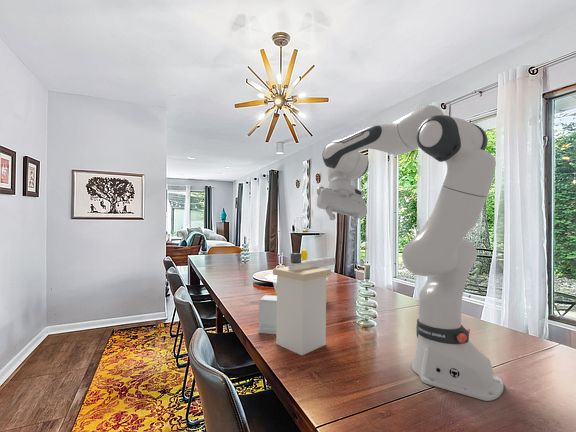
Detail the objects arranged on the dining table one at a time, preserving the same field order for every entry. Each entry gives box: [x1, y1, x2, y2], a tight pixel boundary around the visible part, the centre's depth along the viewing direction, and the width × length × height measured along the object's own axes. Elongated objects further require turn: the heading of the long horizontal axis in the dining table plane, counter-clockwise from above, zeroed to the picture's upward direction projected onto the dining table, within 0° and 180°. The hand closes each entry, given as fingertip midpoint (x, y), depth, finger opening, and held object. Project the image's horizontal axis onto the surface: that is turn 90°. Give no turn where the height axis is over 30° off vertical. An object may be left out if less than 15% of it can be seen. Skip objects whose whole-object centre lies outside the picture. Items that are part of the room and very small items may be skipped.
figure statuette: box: [301, 249, 308, 261], centre depth 200 cm, size 18×8×22 cm, turn 26°
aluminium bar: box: [288, 252, 336, 271], centre depth 112 cm, size 4×22×6 cm, turn 135°
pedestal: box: [272, 265, 332, 356], centre depth 108 cm, size 14×14×26 cm
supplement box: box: [258, 294, 277, 335], centre depth 121 cm, size 7×7×13 cm
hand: (343, 222), depth 115 cm, fingers open, 8 cm apart
